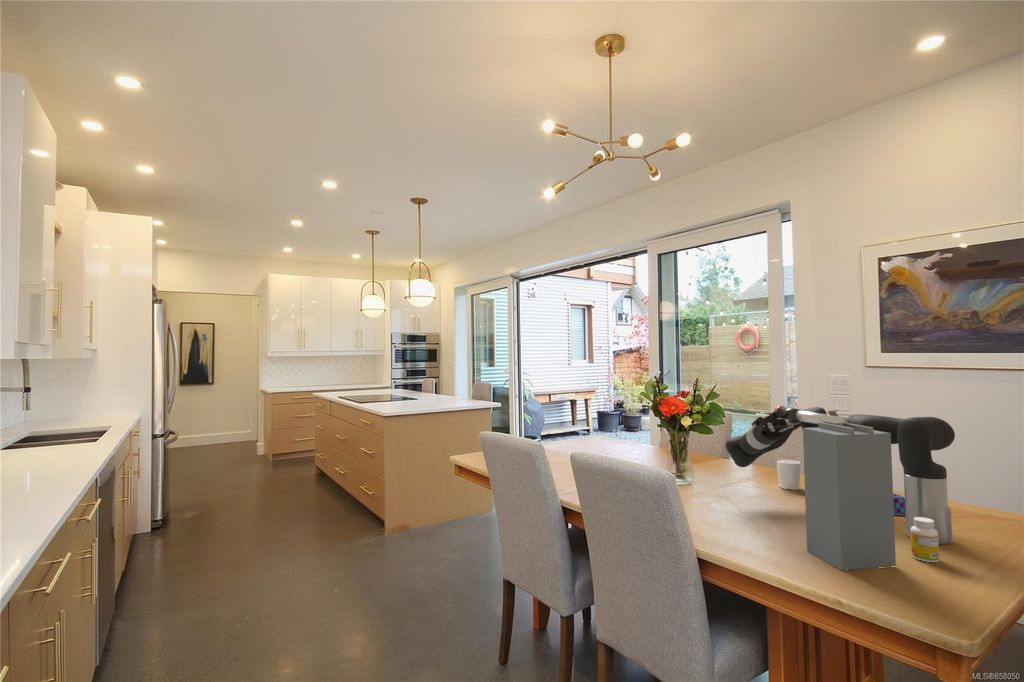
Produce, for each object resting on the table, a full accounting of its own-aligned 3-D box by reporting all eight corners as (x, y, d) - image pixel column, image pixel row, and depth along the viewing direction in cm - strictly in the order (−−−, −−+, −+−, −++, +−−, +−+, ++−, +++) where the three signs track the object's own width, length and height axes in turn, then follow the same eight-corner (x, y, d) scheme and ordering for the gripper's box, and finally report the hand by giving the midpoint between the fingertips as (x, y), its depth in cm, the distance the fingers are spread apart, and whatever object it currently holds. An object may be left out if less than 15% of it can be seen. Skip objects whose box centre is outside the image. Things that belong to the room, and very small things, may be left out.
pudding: (864, 510, 164) (864, 494, 164) (878, 503, 171) (877, 488, 171) (910, 520, 154) (909, 502, 154) (922, 512, 161) (921, 495, 162)
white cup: (772, 486, 194) (772, 460, 195) (788, 484, 197) (788, 458, 197) (789, 491, 187) (788, 464, 187) (806, 489, 189) (805, 462, 189)
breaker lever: (774, 418, 152) (774, 405, 152) (786, 418, 153) (785, 405, 153) (835, 430, 127) (834, 415, 127) (848, 430, 128) (848, 415, 128)
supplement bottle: (911, 552, 129) (910, 514, 129) (939, 557, 125) (937, 518, 126) (911, 559, 125) (909, 520, 125) (939, 565, 121) (938, 524, 121)
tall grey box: (807, 551, 131) (802, 422, 132) (856, 548, 132) (852, 421, 133) (841, 570, 119) (836, 429, 120) (895, 567, 120) (890, 427, 121)
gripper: (738, 423, 162) (763, 402, 149) (780, 422, 164) (808, 401, 150) (745, 446, 159) (772, 426, 145) (788, 444, 160) (818, 425, 146)
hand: (790, 413), depth 147 cm, fingers open, 8 cm apart
